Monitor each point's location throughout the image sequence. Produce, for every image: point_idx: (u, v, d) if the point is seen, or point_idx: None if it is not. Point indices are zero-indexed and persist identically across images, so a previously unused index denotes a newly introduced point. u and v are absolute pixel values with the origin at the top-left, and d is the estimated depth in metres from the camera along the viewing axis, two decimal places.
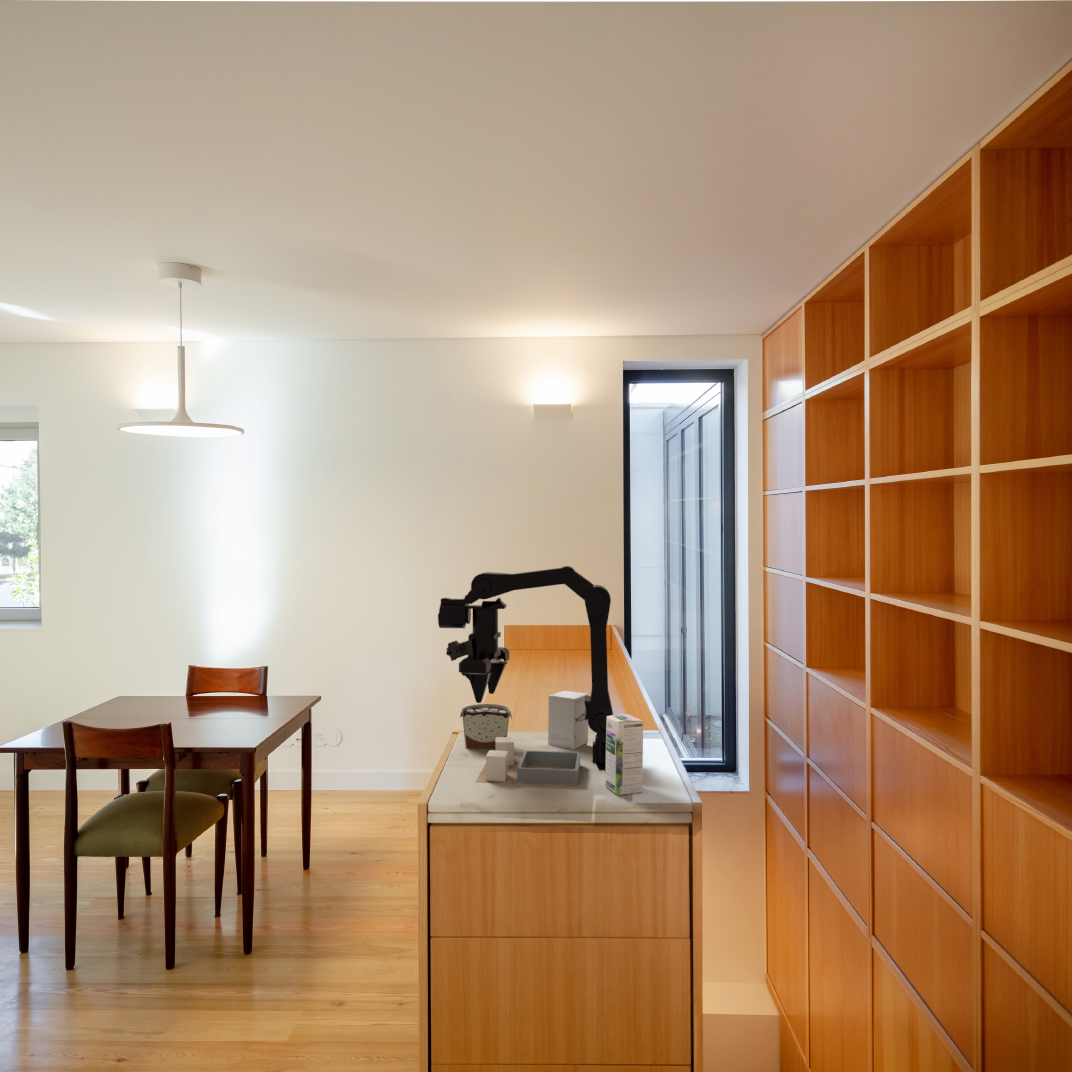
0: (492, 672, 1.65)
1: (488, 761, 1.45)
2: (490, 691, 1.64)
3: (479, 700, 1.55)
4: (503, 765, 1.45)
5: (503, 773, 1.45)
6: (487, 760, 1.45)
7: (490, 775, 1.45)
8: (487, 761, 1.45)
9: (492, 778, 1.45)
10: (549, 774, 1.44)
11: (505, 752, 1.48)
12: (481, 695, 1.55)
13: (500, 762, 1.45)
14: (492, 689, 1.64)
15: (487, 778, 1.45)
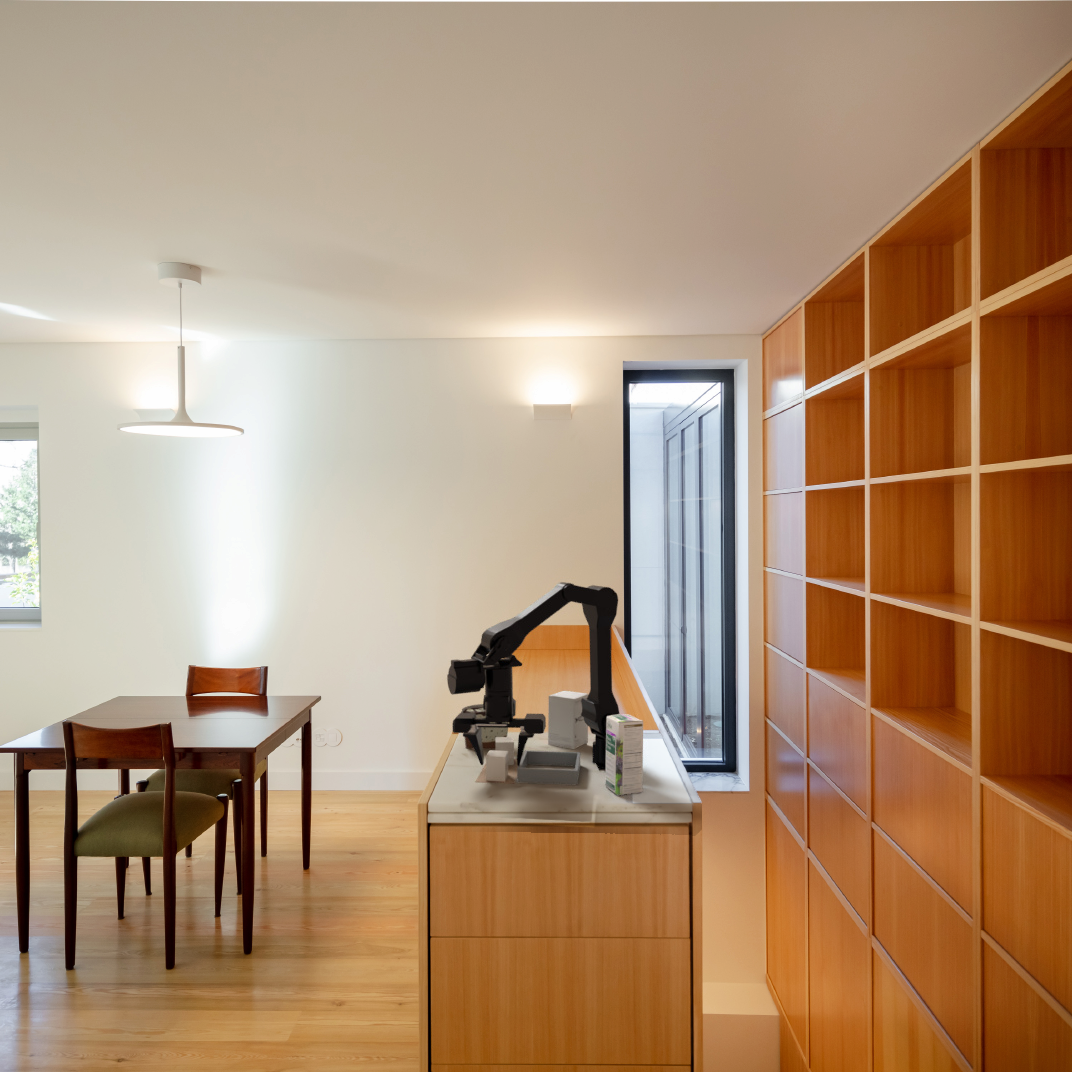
0: None
1: (488, 761, 1.45)
2: None
3: None
4: (503, 765, 1.45)
5: (503, 773, 1.45)
6: (487, 760, 1.45)
7: (490, 775, 1.45)
8: (487, 761, 1.45)
9: (492, 778, 1.45)
10: (549, 774, 1.44)
11: (505, 752, 1.48)
12: None
13: (500, 762, 1.45)
14: None
15: (487, 778, 1.45)
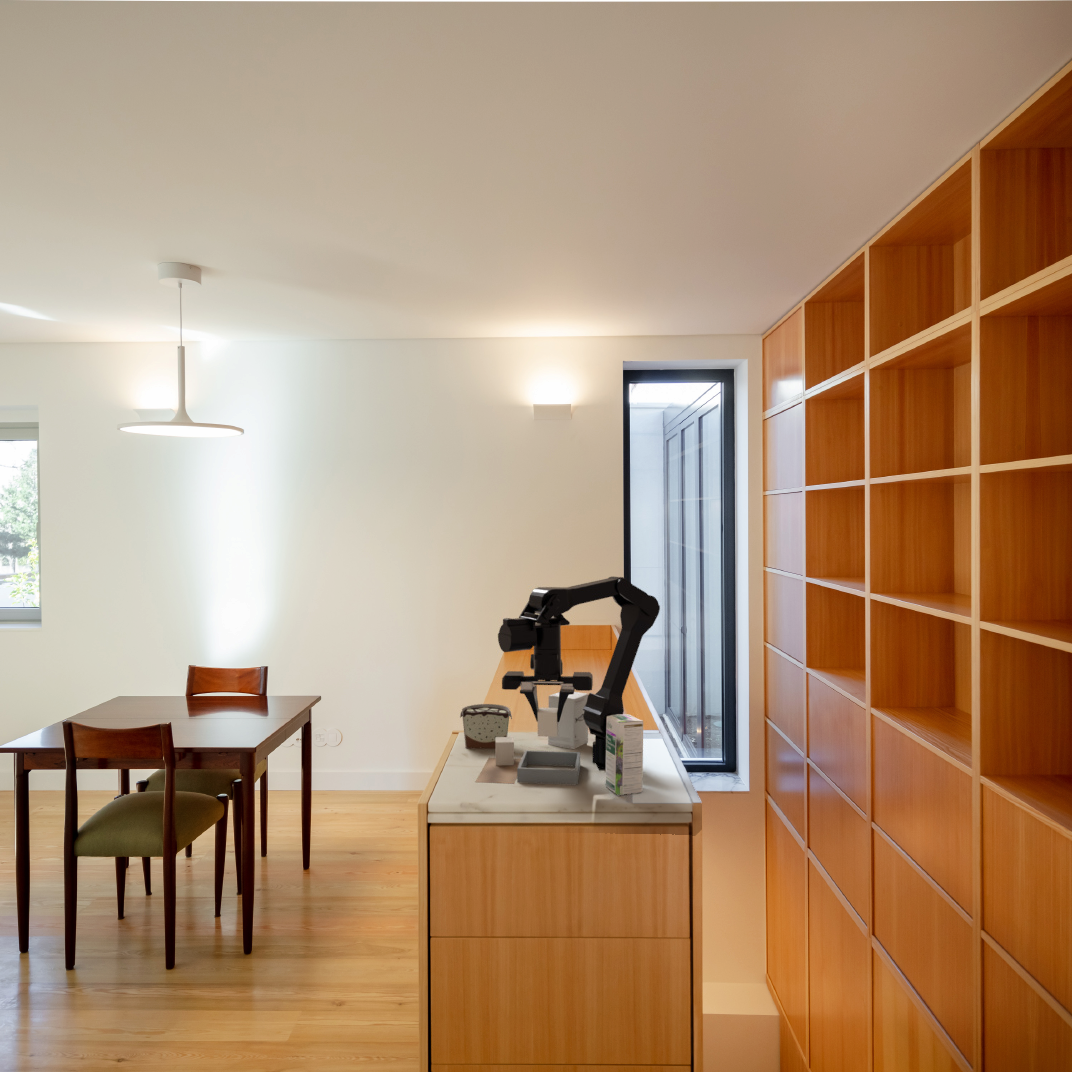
0: None
1: (540, 717, 1.48)
2: None
3: None
4: (555, 721, 1.48)
5: (555, 729, 1.48)
6: (539, 716, 1.48)
7: (542, 730, 1.48)
8: (539, 717, 1.48)
9: (544, 733, 1.48)
10: (549, 774, 1.44)
11: (555, 709, 1.51)
12: (534, 713, 1.49)
13: (552, 718, 1.48)
14: None
15: (539, 734, 1.48)
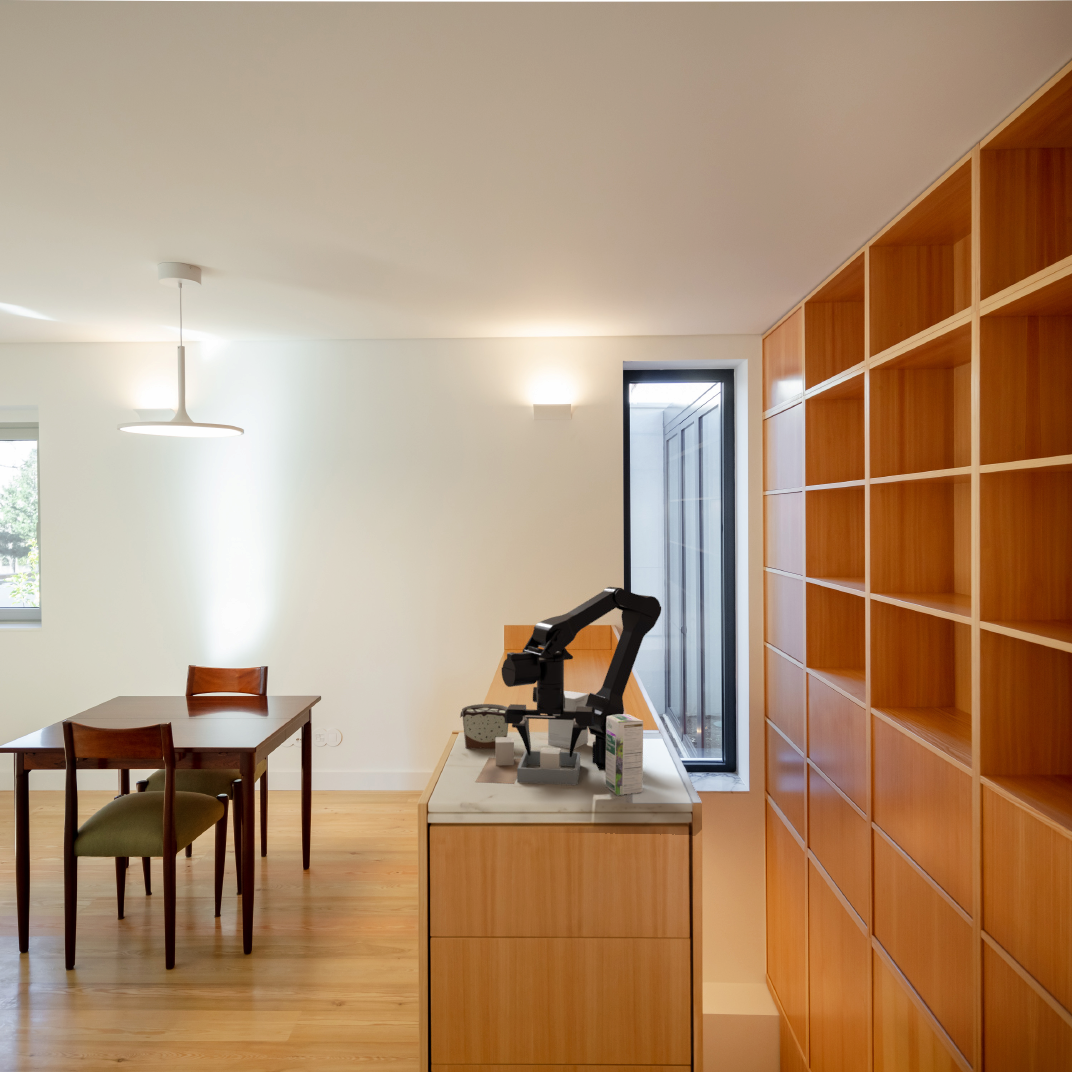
0: None
1: (543, 758, 1.48)
2: None
3: None
4: (557, 762, 1.48)
5: None
6: (541, 757, 1.48)
7: None
8: (541, 758, 1.48)
9: None
10: (549, 774, 1.44)
11: (558, 749, 1.51)
12: (525, 747, 1.50)
13: (554, 759, 1.48)
14: None
15: None
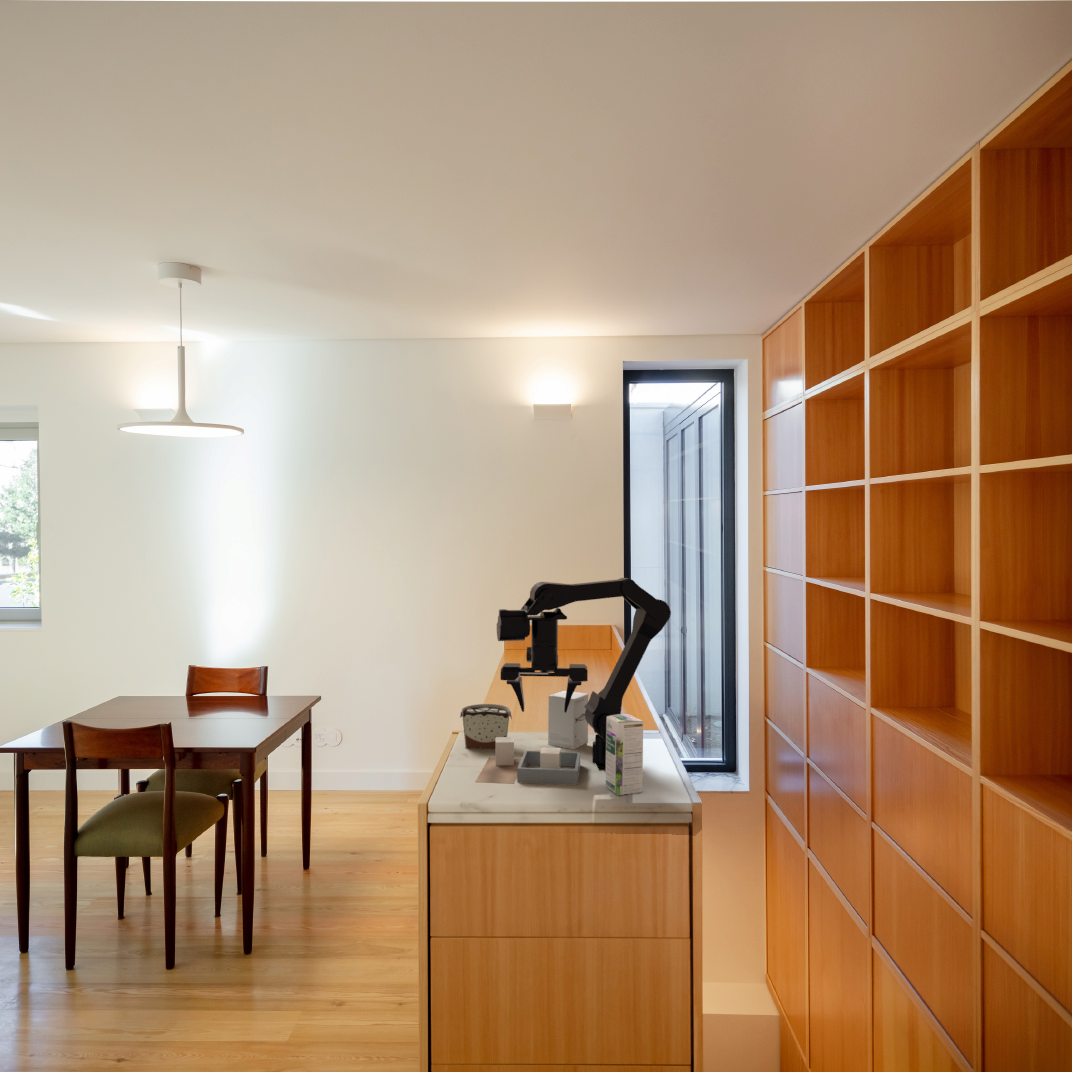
0: None
1: (543, 758, 1.48)
2: None
3: None
4: (557, 762, 1.48)
5: None
6: (541, 757, 1.48)
7: None
8: (541, 758, 1.48)
9: None
10: (549, 774, 1.44)
11: (558, 749, 1.51)
12: None
13: (554, 759, 1.48)
14: (564, 707, 1.55)
15: None
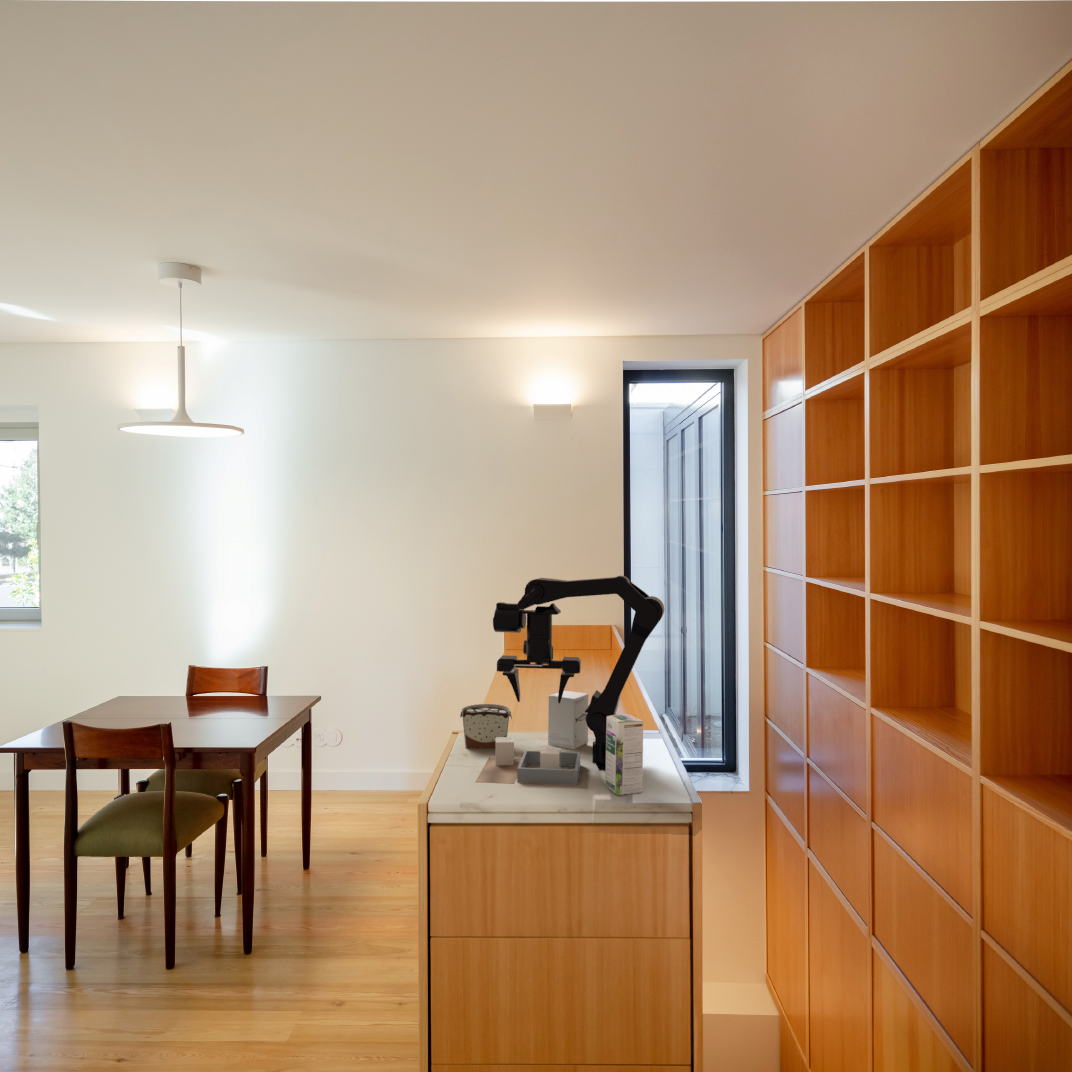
0: None
1: (543, 758, 1.48)
2: None
3: None
4: (557, 762, 1.48)
5: None
6: (541, 757, 1.48)
7: None
8: (541, 758, 1.48)
9: None
10: (549, 774, 1.44)
11: (558, 749, 1.51)
12: (515, 694, 1.61)
13: (554, 759, 1.48)
14: None
15: None
